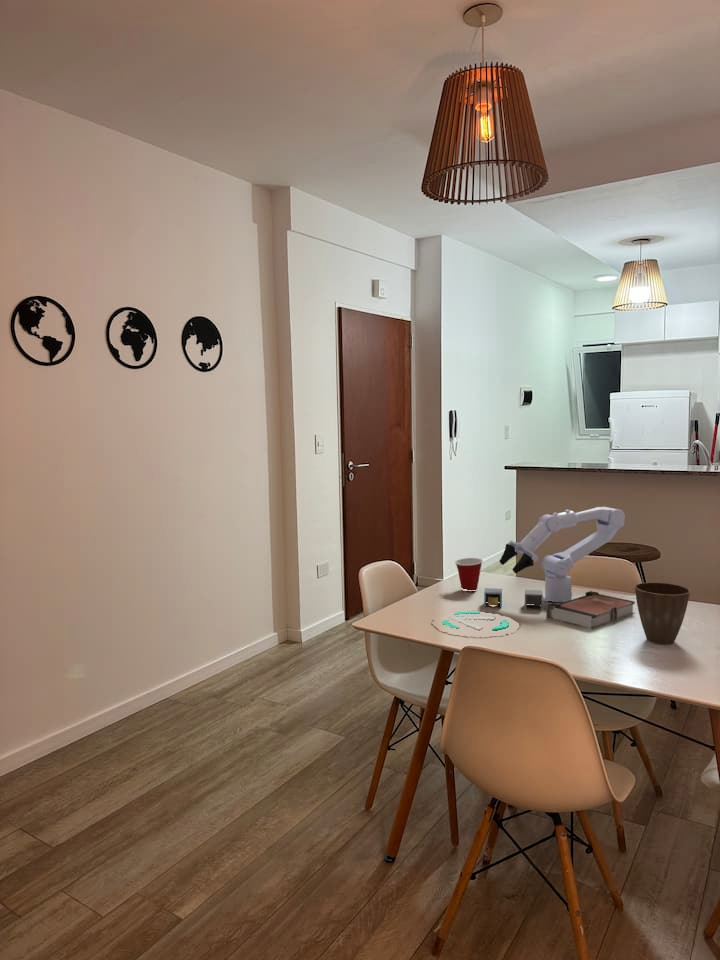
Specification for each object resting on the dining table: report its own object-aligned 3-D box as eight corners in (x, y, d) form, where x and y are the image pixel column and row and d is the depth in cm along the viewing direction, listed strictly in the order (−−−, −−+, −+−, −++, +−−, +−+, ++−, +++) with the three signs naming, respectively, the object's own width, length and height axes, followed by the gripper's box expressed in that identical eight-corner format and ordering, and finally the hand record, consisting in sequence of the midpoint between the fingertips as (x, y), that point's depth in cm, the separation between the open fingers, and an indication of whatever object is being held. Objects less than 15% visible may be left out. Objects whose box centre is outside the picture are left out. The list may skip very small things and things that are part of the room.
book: (593, 631, 213) (593, 615, 213) (546, 619, 227) (546, 604, 226) (636, 615, 230) (636, 600, 229) (590, 604, 243) (590, 591, 243)
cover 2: (541, 605, 241) (542, 590, 241) (542, 610, 235) (542, 594, 235) (524, 604, 242) (524, 589, 242) (524, 609, 237) (525, 593, 236)
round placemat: (452, 609, 240) (452, 604, 240) (530, 620, 226) (530, 615, 225) (417, 631, 216) (417, 626, 216) (502, 645, 202) (502, 639, 202)
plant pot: (642, 629, 212) (643, 579, 211) (694, 639, 203) (695, 586, 201) (626, 642, 201) (627, 589, 199) (680, 652, 191) (682, 597, 190)
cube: (498, 604, 243) (498, 595, 243) (498, 607, 240) (498, 597, 240) (488, 604, 244) (488, 594, 244) (488, 606, 241) (488, 597, 240)
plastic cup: (451, 587, 268) (450, 558, 267) (477, 586, 270) (477, 556, 269) (459, 594, 257) (459, 563, 256) (486, 593, 259) (487, 562, 258)
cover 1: (501, 603, 244) (501, 588, 244) (501, 608, 238) (501, 593, 238) (485, 602, 246) (485, 588, 245) (484, 607, 240) (484, 592, 239)
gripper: (515, 526, 249) (490, 552, 247) (541, 541, 236) (515, 568, 234) (523, 538, 252) (498, 564, 250) (550, 553, 240) (524, 580, 238)
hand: (507, 567), depth 243 cm, fingers open, 7 cm apart
